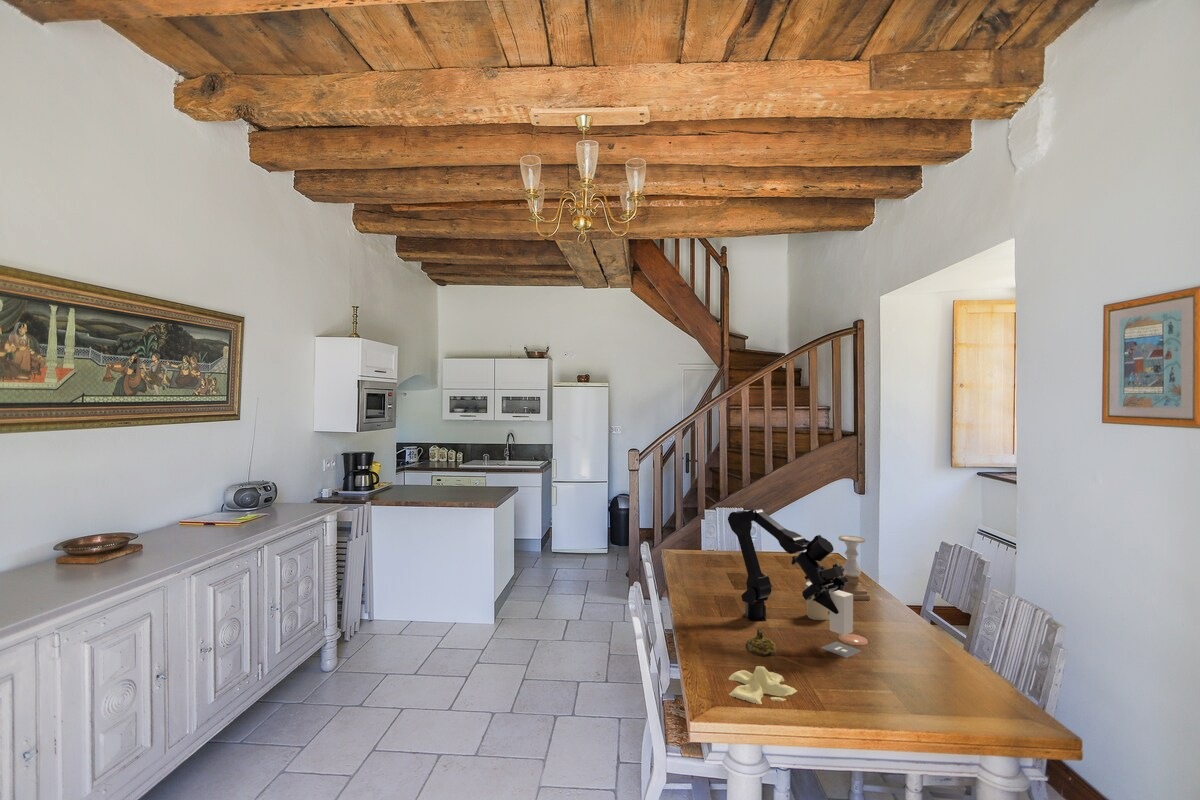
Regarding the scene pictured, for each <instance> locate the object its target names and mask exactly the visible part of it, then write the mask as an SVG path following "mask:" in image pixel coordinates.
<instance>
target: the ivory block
mask: <svg viewBox="0 0 1200 800" xmlns="http://www.w3.org/2000/svg"><path fill="white" fill-rule="evenodd" d="M830 598H831V600H832V601H833V603H834V604H835V606H836V608H837V610H838V612H839V613H838V614H835V613H833V612H832V611H830V618H829V631H831V632H833V633H836V634H838V635H847V634H853V632H854V600H853V594H851V593H847V592H844V591H840V590H837V591H834V592H831V593H830Z"/></svg>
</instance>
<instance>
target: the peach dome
mask: <svg viewBox="0 0 1200 800" xmlns="http://www.w3.org/2000/svg"><path fill="white" fill-rule="evenodd" d="M838 640H839V641H840V642H841V643H843V644H844V643H845V644H846V645H851V646H866V645H868V643H869V640H868V639H867V638H866V637H864V636H862V635H859V634H854V633H849V634H847V635H841V634H838Z"/></svg>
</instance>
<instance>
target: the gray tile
mask: <svg viewBox="0 0 1200 800" xmlns="http://www.w3.org/2000/svg"><path fill="white" fill-rule="evenodd" d="M820 649H822V650H826V651H828V652H829V653H833V654H835V655H838V656H841V657H843V658H846V659H847V658H849V657H851V656H854V655H856V654H859V653H861V652H862V650H861V649H858V648H855V647H853V646H850V645H848V644H846V643H845V644H844V643H843V642H839V641H834V642H831V643H829V644H826V645H823V646H821V647H820Z"/></svg>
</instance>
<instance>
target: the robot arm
mask: <svg viewBox="0 0 1200 800" xmlns="http://www.w3.org/2000/svg"><path fill="white" fill-rule="evenodd" d="M727 521H728V524H729V527H730V529H731V531H732V532H733V533H734V534H735V535H736V537H737V539H738V543H739V547H740V552H741V554H742V559H743V561H744V562H743V563H744V565H745V568H746V572H747V577H746V584H745V585H746V590H745V591H744V592H743V593H742V594H741V595H740V596H741V600H742V602H744V603H745V605H744V606H745V607H744V608H745V612H744V613H743V616H745V618H746V619H747V620H748V621H757V622H758V621H767V618H766V617H767V606H766V604H765V601H766V602H767V601H768V599H769V597H770V596H771V593H772V588H773V586H772V583H771V581H770V580H771V579H770V577H769V575H764V573H763V572H762V570H761V567H760V562H759V559H758V555H757V552H756V548H755V544H754V541H753V537H752V534H751V533H752V528H753V523H752V522H755V523H757V525H759V526H760V527H761V528H762V529H763V530H765V531H766V532H767V533H768V534H770V535H771V536H773V537H774V538H775V539H776V540H777V542H778V543H779V546H780V547H781V548H782V549H783V550H784V552H786V553H787V554H790V555H792V554H797V555H793V556H792V557H791V559H792V560H791V565H792V566H794V565H799V567H800V569H801V570H802V572H803V573H804V574H805V576H804V580H806V581H807V580H809V582H811V583H812V584H811V585H810V586H809V587H807V588H806V587H805V589H803V590H802V591H801V594H802V595H801V596H802V597H803V600H804V601H805V602H806V601H807V600H810V599H812V596H813V595H814V597H815V598H814V599H813V601H816V602H817V603H819V604H821V605H823V606H824V607H826V608H827V609H829V610H830V611H832V612H833V613H835V614H838V613H839V612H838V610H837V608H836V606H835V604H834V603H833V601H832V600H831V598H830V594H829V592H830V593H831V592H834V591H837V590H840V591H843V588H844V587H845V585H846V584H847V583H848V582H849V581H848V580H847V578H846V577H844V576H845V574H844V573H843V572H844V568H843V565H841V563H839V562H837V563H834V564H832V567H831V568H826V566H825V565H822V566H821V565H820V563H819V562H822V561H823V560H825V559H826V558H827V557H828V556H829V555H831V554H832V553H833V552H834V546H833V544H832V543H831V541H829V540H827V539H826V538H824V537H823V536H822V535H821V534H818V535H815V536H814V537H813V539H812V540H808V539H806V538H805V536H803V535H802V534H799V533H797V532H795V531H792V530H789V529H787V528H786V527H784V526H783V525H782V524H780V523H779V522H777V521H776V520H775V519H773V518H772V517H771V516H769V515H768V514H767V513H765V511H764V510H763V509H761V508H753V509H750V510H747V511H746V510H739V511H738V510H737V511H732V512H729V515H728V516H727ZM798 553H799V554H798Z"/></svg>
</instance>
